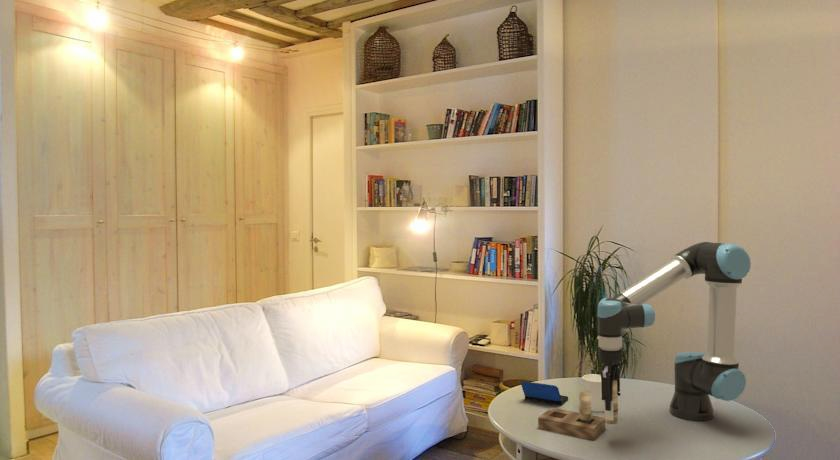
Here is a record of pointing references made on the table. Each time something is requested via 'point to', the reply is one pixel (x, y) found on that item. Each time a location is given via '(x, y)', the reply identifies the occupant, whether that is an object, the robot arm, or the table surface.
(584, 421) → the wooden peg block
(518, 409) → the table surface
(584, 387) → the candle holder
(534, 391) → the handheld game console
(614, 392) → the beech peg
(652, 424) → the table surface
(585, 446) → the table surface
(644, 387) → the table surface
